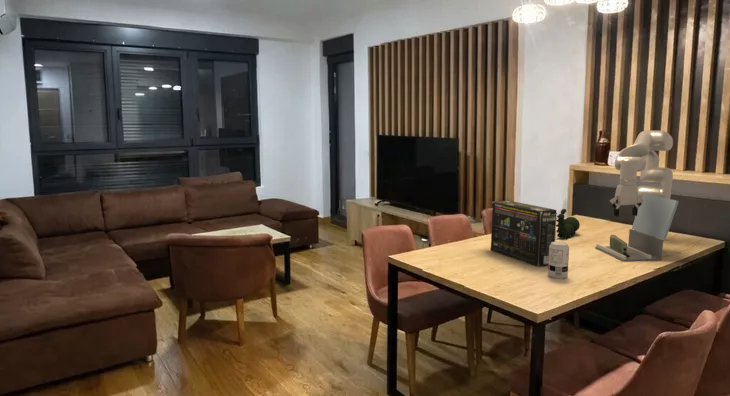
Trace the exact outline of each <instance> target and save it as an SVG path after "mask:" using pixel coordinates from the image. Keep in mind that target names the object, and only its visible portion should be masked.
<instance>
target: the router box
mask: <svg viewBox="0 0 730 396" xmlns="http://www.w3.org/2000/svg"><path fill="white" fill-rule="evenodd" d="M491 204H492V215H491V216H492V217H491V232H490V233H491V236H490V237H491V238H490V239H491V241H490V251H492V252H494V253H497V254H500V255H503V256H506V257H509V258H512V259H516V260H518V261H521V262H524V263H527V264H530V265H533V266H535V267H542V266H548V262H549V246H550V244H551V242H556V237H557V232H556V231H557V230H556V229H557V227H556V225H557V221H556V220H558V217H557V216H558V215H557V214H558V212H557V209H553V208H548V207H542V206H538V205H533V204H528V203H524V202H523V203H522V202H518V201H517V202H516V201H512V200H502V201H501V200H499V201H498V200H497V201H492V202H491Z"/></svg>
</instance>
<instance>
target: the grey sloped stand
mask: <svg viewBox="0 0 730 396" xmlns="http://www.w3.org/2000/svg"><path fill="white" fill-rule="evenodd" d="M663 245H664V240H663V239H660V238H657V237H653V236H650V235H647V234H644V233H642V232H639V231H636V230H634V229H632V228H629V232H628V243H627V254H628V255H629V256H630V257H627V256H624V255H622V254H620V253H618V252H617V251H616V250H614V249H613V248H612V247H610V245H608V246H607V245H606V246H604V245H601V244H600V243H596V246H595V247H594V249H595V250H598V251H600V252H602V253H604V254H606V255H608V256H611V257H613V258H615V259H617V260H618V261H621V262H623V263H624V262H655V261H656V262H657V261H663V260H662V257H663V250H664V249H663V247H664V246H663Z"/></svg>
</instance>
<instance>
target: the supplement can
mask: <svg viewBox="0 0 730 396" xmlns="http://www.w3.org/2000/svg"><path fill="white" fill-rule="evenodd" d="M569 257H570V246H569V243H567V242H564V241H555V242H551V244H550V246H549V262H548V265H547V266H548V267H547V276H548V277H551V278H552V279H560V280H561V279H562V280H563V279H566V278H568V275H569V274H568V273H569V260H570V258H569Z"/></svg>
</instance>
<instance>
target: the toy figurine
mask: <svg viewBox="0 0 730 396" xmlns="http://www.w3.org/2000/svg"><path fill="white" fill-rule="evenodd" d="M566 213H567V209H566V208H562V209H561V210H560V213H559V214H558V215H557V219H556V228H557V229H556V230H555V231H556V237H558V238H562V237H563V238H564V239H565V238H567V239H571V238H572V237H574V236H575V235H576V232H577V231H578V230H579V229H580V225H581V224H580V222H579V220H578V219H577V218H576V217H574V216H569V217H568V216H567V217H566V218H565V214H566Z"/></svg>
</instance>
